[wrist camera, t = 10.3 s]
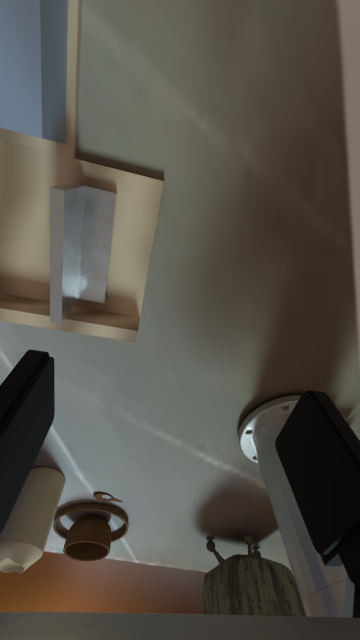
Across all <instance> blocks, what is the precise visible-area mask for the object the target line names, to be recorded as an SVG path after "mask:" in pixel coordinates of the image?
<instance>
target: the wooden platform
mask: <svg viewBox="0 0 360 640" xmlns="http://www.w3.org/2000/svg"><path fill="white" fill-rule="evenodd" d="M80 28H81V0H68V38H67V88H66V138H65V144H64V143H60V142H55V141H51V140H46V139H42V138H38V137H34V136H30V135H27V134H23V133H19V132H15V131H11V130H8V129H4V128H0V321H6V322H12V323H18V324H24V325H31V326H37V327H43V328H49V329H56V330H62V331H68V332H74V333H81V334H87V335H93V336H99V337H106V338H112V339H118V340H124V341H131V342H136V338H137V332H138V326H139V320H140V314H141V309H142V303H143V298H144V292H145V287H146V281H147V276H148V270H149V265H150V259H151V254H152V248H153V243H154V237H155V232H156V226H157V221H158V215H159V209H160V204H161V198H162V193H163V187H164V182H165V181H162V180H158V179H154V178H150V177H146V176H142V175H139V174H135V173H131V172H127V171H123V170H119V169H115V168H111V167H107V166H103V165H100V164H96V163H92V162H88V161H84V160H80V159H76V137H77V110H78V83H79V55H80ZM70 183H79V184H83V185H87V186H92V187H96V188H100V189H104V190H108V191H112V192H116V193H117V198H116V208H115V217H114V227H113V236H112V245H111V255H110V264H109V274H108V283H107V292H106V301H105V303H100V302H95V301H89V300H83V299H78V300H77V302H76V303H75V305H74V306H73V308H72V310H71V311H70V313H69V314H68V316H67V317H66V319H65V320H64V322H63V323H62V325H61V324H55V323H50V187H54V186H59V185H65V184H70Z"/></svg>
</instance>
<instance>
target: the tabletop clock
mask: <svg viewBox="0 0 360 640" xmlns="http://www.w3.org/2000/svg"><path fill="white" fill-rule="evenodd" d="M244 540H245V543H246V544H247V545H248V555H240V554H237V555H233V556H231V557H229V558H227V559H226V560H224V559H223V558H222V557H221V556H220V555H219V553H218V552H217V551H216V550H215V543H214V542H213V541H208V542H207V545H206V546H207V550H208V551H210V552H213V553H214V555H215V556H216V558H217V560H218V562H219V565H218V566H216V567H215V568H214V569H212V570H211V571H209V572H208V573H207V574H205V576H204V582H203V597H202V599H203V614H212V615H261V616H305V617H306V614H305V611H304V607H303V604H302V601H301V597H300V594H299V591H298V588H297V585H296V582H295V578H294V576H293V574H292V572H291V570H290V569H289V568H287V567H286V566H285V565H283V564H280V563H277V562H274V561H271V560H268V559H265V558H261V554H260V552H259V551H258V550H254V551H253V555H252V549H251V545H252V544H253V537H252V536H251V535H250V534H246V535H245V537H244Z"/></svg>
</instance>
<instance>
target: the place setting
mask: <svg viewBox="0 0 360 640" xmlns="http://www.w3.org/2000/svg"><path fill="white" fill-rule="evenodd" d="M102 495H108V496H111V495H109V494H107V493H95V494H94V495H93V496H94V498H96V499H98V500H103V501H117V502H123V501H121V500H118V499H115V498H114V497H113V496H111V499H105V498H103V497H102ZM84 510H95V511H102V512H107V513H110V514H113V515H115V516H117V517H119V518H120V519H122V520H123V521H124V525H123V527H122V528H121V529H119V530H118V531H116V532H114V533H112V532H111V528H110V526H109V524H108V523H107V522H105V519H104V518H103V517H101V516H98V515H87V516H84V517H82V518H81V520H79V521H77V522H75V523H74V524H73V525H72V526H71V528H70V530H67V529H66V528H64V527H63V526H62V524H61V522H60V518H61V517H62V516H64V515H66V514H69V513H72V512H76V511H84ZM53 528H54V531H55V532H56V533H57V534H58V535H59V536H60V537H62V538H63V539H66V541H65V545H64V549H63V552H64V554H65V555H66V556H67V557H69V558H71V559H74V560H78V561H95V560H100V559H103V558H105V557H106V556H107V555H108V554H109V552H110V545H111V542H113V541H116V540H118V539H120V538H122V537H123V536H124V535H125V534H126V533H127V531H128V519H127V517H126V515H125V514H124V513H123V512H122V511H121V510H119V509H117V508H115V507H113V506H110V505H106V504H101V503H80V504H75V505H72V506H69V507H67V508H65V509H63V510H62V511H61V512H60V513H59V514H58V515H57V517H56V519H55V521H54V524H53Z"/></svg>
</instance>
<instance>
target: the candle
mask: <svg viewBox="0 0 360 640" xmlns="http://www.w3.org/2000/svg"><path fill="white" fill-rule="evenodd" d="M64 484H65V477H64V475H63V474H62V473H61V472H59V471H58V470H56V469H53V468H48V467H37V468H33V469H31V470H30V472H29V475H28V477H27V479H26V481H25V483H24V485H23V488H22V490H21V492H20V494H19V496H18V498H17V501H16V503H15V505H14V507H13V509H12V511H11V514H10V516H9V518H8V520H7V522H6V525H5V527H4V529H3V531H2V532H1V534H0V571H2V572H5V573H10V572H13V571H16V572H17V573H23V572H24V571H25V570H26V569H27V568H28V567H29V566H30V565H32V564H33V563H34V562H36V561H37V560H38V559H39V558H40V557H41V556H42V554H43V551H44V548H45V545H46V542H47V538H48V535H49V532H50V529H51V526H52V523H53V519H54V516H55V513H56V510H57V507H58V504H59V500H60V497H61V494H62V491H63V488H64Z"/></svg>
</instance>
